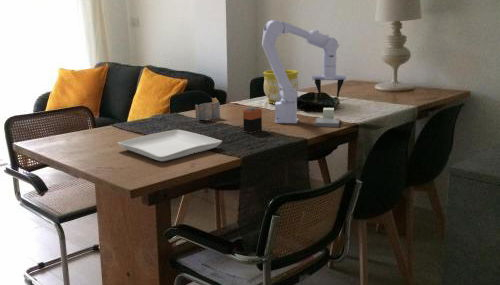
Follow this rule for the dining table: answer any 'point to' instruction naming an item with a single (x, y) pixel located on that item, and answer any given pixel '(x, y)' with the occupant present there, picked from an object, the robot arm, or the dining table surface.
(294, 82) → the flowerpot
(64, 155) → the dining table surface
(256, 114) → the battery
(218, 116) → the ruin model on sheet
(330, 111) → the block
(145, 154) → the square plate
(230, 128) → the dining table surface
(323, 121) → the trivet
